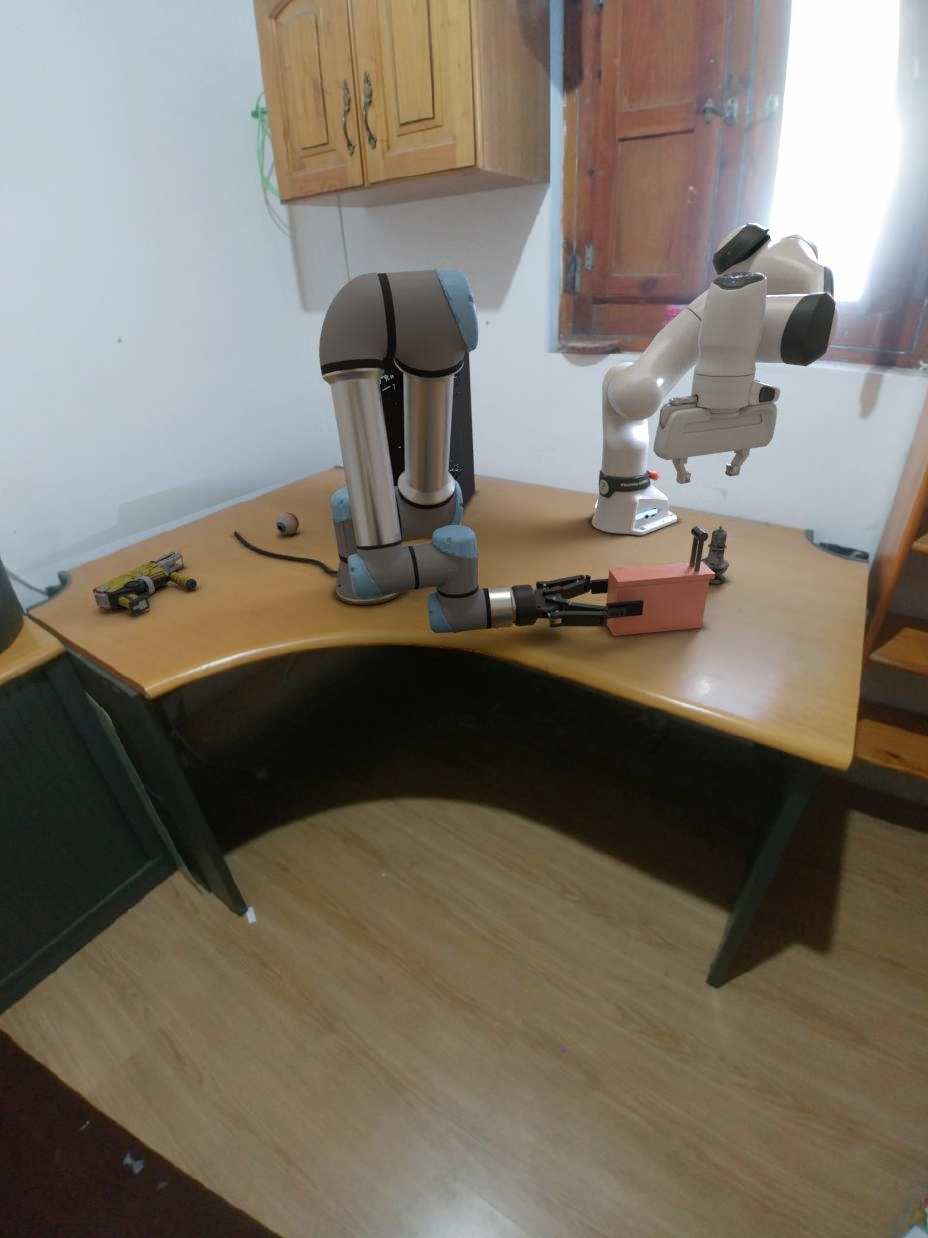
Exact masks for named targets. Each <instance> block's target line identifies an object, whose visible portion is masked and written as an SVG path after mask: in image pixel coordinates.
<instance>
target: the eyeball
mask: <svg viewBox="0 0 928 1238" xmlns="http://www.w3.org/2000/svg"><path fill="white" fill-rule="evenodd" d="M299 525H300V522H299V519H298V517H297V516H296V515H295V514H294V513H292V512H287V511H286V512H282V513H280V514H279V515H278V516H277V517H276V520H275V527H276V529H277V530H278V531H279V532H280V533H281V534H282V535H285V536H286V535H287V536H289V535H293V534H295V533H296V532H297V531H298V529H299Z"/></svg>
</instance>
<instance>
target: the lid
mask: <svg viewBox="0 0 928 1238" xmlns="http://www.w3.org/2000/svg"><path fill="white" fill-rule="evenodd" d="M690 534H691V535H692V536H693V539H692V545H691V552H690V559H689V562H680V563H679V562H678V563H667V564H655V565H644V566H632V567H631V566H630V567H621V568H609V569H608V577H609V576H610V577H611V579H612V580H613V581H614V583H615V584H616V586H617V587H629V586H640V585H652V584H663V583H674V582H686V581H697V580H708V579H714V577H715V573H714V572H713V571H712V570H711V569H710V568H709V567H708V566H707V565H706V564H705V563H703V562H702V561H701V559H703V558H702V557H703V551H704V545H705V542H706V541H707V540H708V539H709V534H708V533H707V531H705V530H704V529H703V528H702V527H701V526H699V525H695V526H693V527H691V530H690Z"/></svg>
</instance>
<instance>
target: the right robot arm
mask: <svg viewBox="0 0 928 1238" xmlns="http://www.w3.org/2000/svg"><path fill="white" fill-rule="evenodd" d="M770 231H771V228H770V227H766V228H765V227H764V226H762V225H761V224H759V223H755V222H747V223H745V224H743V225H741V226H738V227H737V228H734V229H733V230H732V231H730V232H729V233H728V234H726V236H725V237H724V238H723V239H722V240H721V242H720V243H719V245H718V247H717V249H716V251H715V252H714V254H713V257H712V261H711V263H712V266H713V268H714V270H715V272H716V275H717V276H718V277H716V278H714V279H713V280H712V281H711V282H710V284H709V288H708V289H706V291H704V292H703V293H701V294H700V295H699V296H697V297H696V298H695V299H694V300H692V301H691V302H690V303H689V304H688V305H687V306H686V307H685V308H683V310H681V311H680V312H679V313H678V314H676V316H675V317H674V318H672V320H671V321H670V322H668V324H666V325H665V326H664V327H663V328H662V329H661V330H660V331H659V332H657V334H656V335H655V336H654V337H653V339H652V341H651V343H650V344H648V346H647V348H646V349H645V350H644V351H643V353H641V355H640V356H639V357H637V359H636V361H634V362H629V361H626V362H621V363H617V364H616V365H613V366H612V367H611V368H610V369H608V370H607V372H606V373H605V375H604V377H603V380H602V384H601V385H602V386H601V387H602V388H601V397H602V398H601V413H602V414H601V416H602V417H601V418H602V419H601V420H602V453H601V468H600V470H599V474H598V492H599V493H598V498H597V500H596V503H595V506H594V507H595V511H594V514H593V517H592V520H591V525H592V526H593V527H594V528H595V529H597V530H599V531H601V532H605V533H611V534H623V535H625V534H626V535H632V536H633V535H634V536H645V535H646V534H650V533H652V532H654V531H657V530H660V529H662V528H665V527H668V526H670V525H672V524H675V523H677V522H678V516H677V515H676V514H675V513H674V512H672V511H670V503H669V502H670V501H669V498H668V497H667V496H666V495H665V494H664V493H663V492H661V491H660V490H659V489H658V488H656V487H655V486H654V485H652V483H651V480H653V481H658V479H659V478H660V473H659V472H657V471H654V470H651V471H649V470H648V469H647V466H648V458H649V457H648V455H649V447H650V435H649V422H648V419H649V418H651V417H652V416H653V415H655V414H656V412H657V411H658V410H659V417H658V424H657V427H656V432H655V435H654V440H653V441H654V443H653V450H652V451H653V452H654V454H655V456H656V457H659V458H660V459H662V460H665V461H672V465H673V466H674V469H675V471H676V478H675V479H676V483H678V484H680V485H684V484H688V483H689V484H690V483H691V478H692V472H690V471H687V470H686V466H685V465H687V464H688V460H689V458H693V457H700V456H707V455H715V454H721V453H730V452H733V453H734V454H735V455H734V456H733V457H732V460H731V462H730V463H726V465H725V471H724V473H725V475H726V476H728V477H738V476H739V475H740V471H741V467H742V465H744V463H745V461H746V460H747V459H748V457H749V455H750V452H751V449H758V448H765V447H767V446H768V445H769V444H770V442H772V440H773V438H774V435H775V430H776V425H777V418H778V417H777V416H778V408H777V404H776V402H777V401H779V398H780V395H781V388H780V387H777V386H774V385H771V384H767V383H764V382H761V381H760V380H758V379H755V377H756V368H757V367H756V366H757V365H756V363H757V364H785V365H788V366H789V365H790V366H799V367H809V366H810V365H812V364H813V363H815V362H816V361H818V360H819V359H820V358H822V357H823V356H824V355H826V354H827V352H828V350H829V348H830V347H831V346H832V343H833V341H834V338H835V335H836V333H837V329H838V320H839V319H838V317H839V316H838V311H837V306H836V305H837V303H836V301H835V277H834V273H833V270H832V268H831V267H829V266H827V265H826V264H824V263H822V243H821V240H820V238H819V237H818V236H817V235H816V234H815V233H814V232H813V231H811V230H809V229H807V228H803V227H801V228H798V227H797V228H792V229H789V230H787V231H785V232H784V231H783V232H782V233H780V234H779V235H777V236H776V237H775V238H774V237H773V236H772V234H771V232H770ZM692 368H694V369H693V376H692V382H691V390H690V395H686V396H681V397H677V396H676V397H671V398H669V399H668V401H667V402H665V403H664V404H663V405H662V406H661V404H662V402H664V400H665V399H666V398H667V396H668V395H669V394H670V393H671V392H672V390H673V389H674V388H676V386H677V385H678V383H679V382H680V381H681V380H682V379H683V377H684V376H685V375H686V374H687V373H688V372H689V371H690V370H691V369H692ZM660 406H661V408H660ZM659 408H660V409H659Z"/></svg>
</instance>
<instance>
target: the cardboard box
mask: <svg viewBox="0 0 928 1238" xmlns="http://www.w3.org/2000/svg"><path fill="white" fill-rule="evenodd" d="M470 364H471V363H470V352H467V351H465V353H464V363H463V366H462V368H461V370H460V371H458V372H457V373H456V374H454V382H453V399H452V416H451V434H450V451H449V469H448V472H449V473H450V474H451V475H452V477H453V478H454V480H456V481H457V482H458V484H459V486H460V488H461V492H462V498H463V504H462V507H463V510H464V509H465V507H466V506H467V504H468V503H469V501H470V500H471V499H472V497H473V495H474V494H475V492H476V482H475V480H476V477H475V459H474V457H475V455H474V432H473V412H472V410H473V409H472V388H471V387H472V386H471V367H470V366H471V365H470ZM383 365H384V374H383V375H382V377H381V378H380V380H379V383H380V391H381V398H382V405H383V412H384V419H385V426H386V433H387V440H388V447H389V454H390V461H391V469H392V476H393V483H394V487H395V486H398V479H399V477H400V475H401V474H402V473H403V472H404V471H405V435H404V376H403V372H402V371H401V370H400V369H399V368H398V367H397V366H396V364H395V362H394V358H383Z"/></svg>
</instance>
